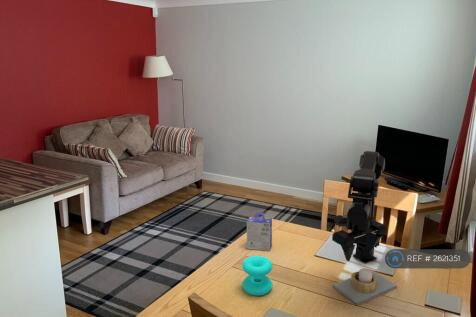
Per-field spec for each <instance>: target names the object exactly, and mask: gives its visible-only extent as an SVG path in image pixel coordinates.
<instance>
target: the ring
mask: <svg viewBox="0 0 476 317" xmlns="http://www.w3.org/2000/svg"><path fill="white" fill-rule="evenodd" d="M350 278H351V286H352V288H353V289H355V290H356V291H358V292H361V293H372V292H375V291H376V289H377V278H376V277H375V276H374V275H373V274H372V282H371V283H362V282H359V281H358V280H359V271H355V272H352V274H351V275H350Z"/></svg>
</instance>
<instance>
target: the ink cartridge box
mask: <svg viewBox="0 0 476 317" xmlns="http://www.w3.org/2000/svg"><path fill="white" fill-rule="evenodd" d="M259 215H261V216H259ZM272 246H273V219H272V217H265V213H264V212H255V216H249V217H248V219H247V220H246V249H247V250H254V251H257V250H258V251H267V252H269V251H271V249H272Z"/></svg>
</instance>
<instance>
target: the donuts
mask: <svg viewBox="0 0 476 317" xmlns="http://www.w3.org/2000/svg"><path fill="white" fill-rule="evenodd" d="M241 265H242V269H243V271H244V273H246V275H247V276H246V277H245V278H244V279H243V281H242V288H243V290H244V291H245V292H246V293H247V294H250V295H251V296H263V295H267V294H268V293H269V292H271V291H272V289H273V281H272V279H271V278H270V277H268V276H267V275H268V274H270V273H271V272H272V270H273V267H274V264H273V263H272V261H271V260H270V258H268V257H265V256H262V255H252V256H249V257H246V258H245V259H244V261H242V264H241Z"/></svg>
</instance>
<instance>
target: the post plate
mask: <svg viewBox="0 0 476 317" xmlns="http://www.w3.org/2000/svg"><path fill="white" fill-rule="evenodd" d="M358 270H359V280H358V281H359V282H362V283H371V282H372V274H373V275H374V276H375V277H376V278H377V289H376V291H375V292H372V293H361V292H358V291H356V290H355V289H353V288H352V286H351V277H350V278H347V279H345V280H342V281H339V282H336V283H334V284H332V288H333V289H334V290H336V291H337V292H339V293H340V294H341V295H343V296H344V297H345V298H347V299H348V300H350V301H351V302H352V303H354V304H355V305H357V306H359V305H361V304H363V303H366V302H368V301H370V300H372V299H376V298H377V297H380V296H382V295H384V294H387V293H388V292H391V291H394V290H395V289H397V288H398V287H397V286H398V285H397V284H396V283H394V282H393V281H391V280H389V279H387V278H385V277H383V276H382V275H380V274H379V273H377V272H375V271H374V270H372V269H369V268H366V267H365V268H363V267H362V268H360V269H358Z"/></svg>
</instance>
